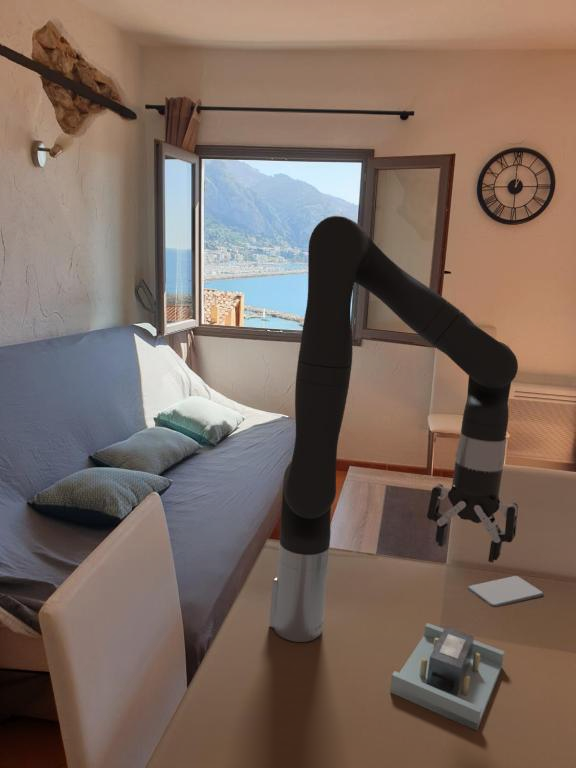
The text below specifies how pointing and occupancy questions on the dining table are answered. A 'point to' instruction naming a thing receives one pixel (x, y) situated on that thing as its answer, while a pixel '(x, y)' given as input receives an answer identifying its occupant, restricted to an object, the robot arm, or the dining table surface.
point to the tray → (457, 708)
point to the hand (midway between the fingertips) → (466, 552)
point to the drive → (450, 660)
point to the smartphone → (505, 591)
